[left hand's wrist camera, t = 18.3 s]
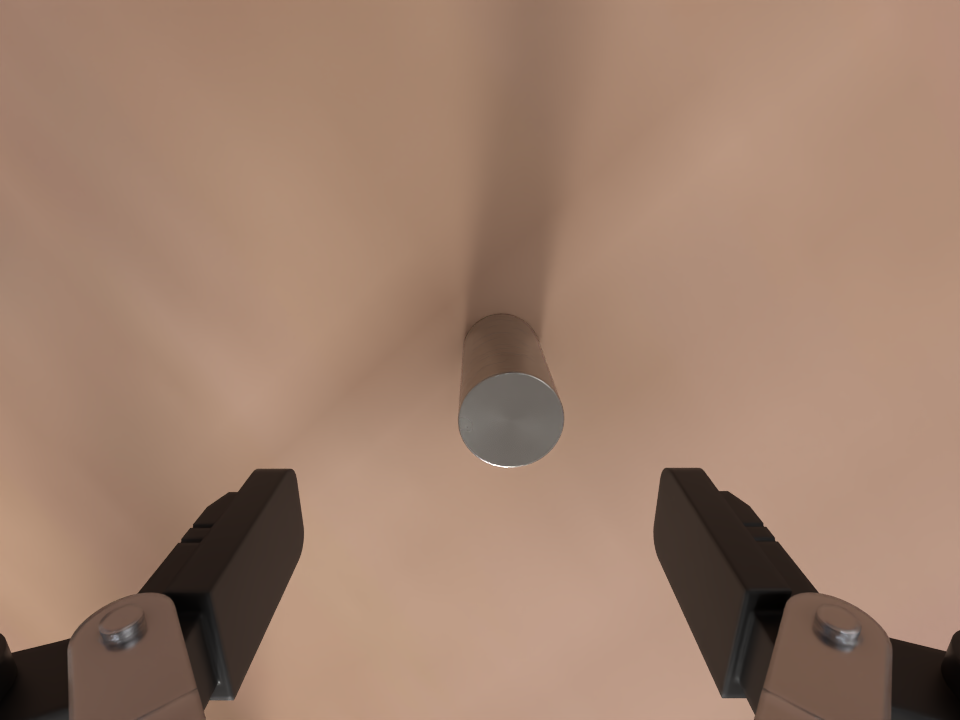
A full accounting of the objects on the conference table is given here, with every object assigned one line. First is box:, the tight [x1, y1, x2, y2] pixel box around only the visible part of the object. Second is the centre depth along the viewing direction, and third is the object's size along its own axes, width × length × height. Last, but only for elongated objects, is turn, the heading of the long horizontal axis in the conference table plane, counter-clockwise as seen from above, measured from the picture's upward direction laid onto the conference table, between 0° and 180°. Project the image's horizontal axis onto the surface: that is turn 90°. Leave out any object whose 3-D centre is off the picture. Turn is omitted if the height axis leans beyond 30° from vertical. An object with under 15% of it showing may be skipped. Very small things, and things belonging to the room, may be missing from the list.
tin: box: [458, 314, 564, 467], centre depth 25 cm, size 4×4×9 cm
